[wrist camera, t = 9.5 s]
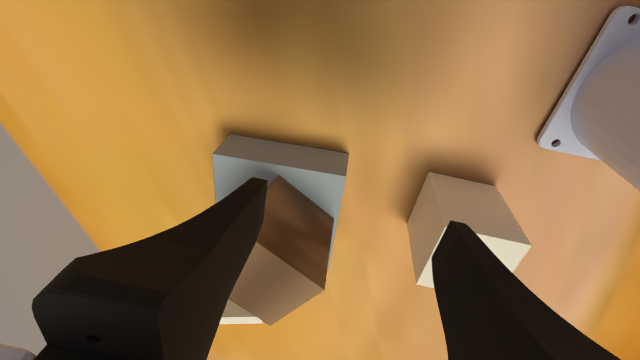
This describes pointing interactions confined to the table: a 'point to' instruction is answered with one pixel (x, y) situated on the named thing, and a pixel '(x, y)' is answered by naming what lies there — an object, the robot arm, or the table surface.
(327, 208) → the base block
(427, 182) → the off-white block
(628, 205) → the table surface
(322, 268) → the walnut block
